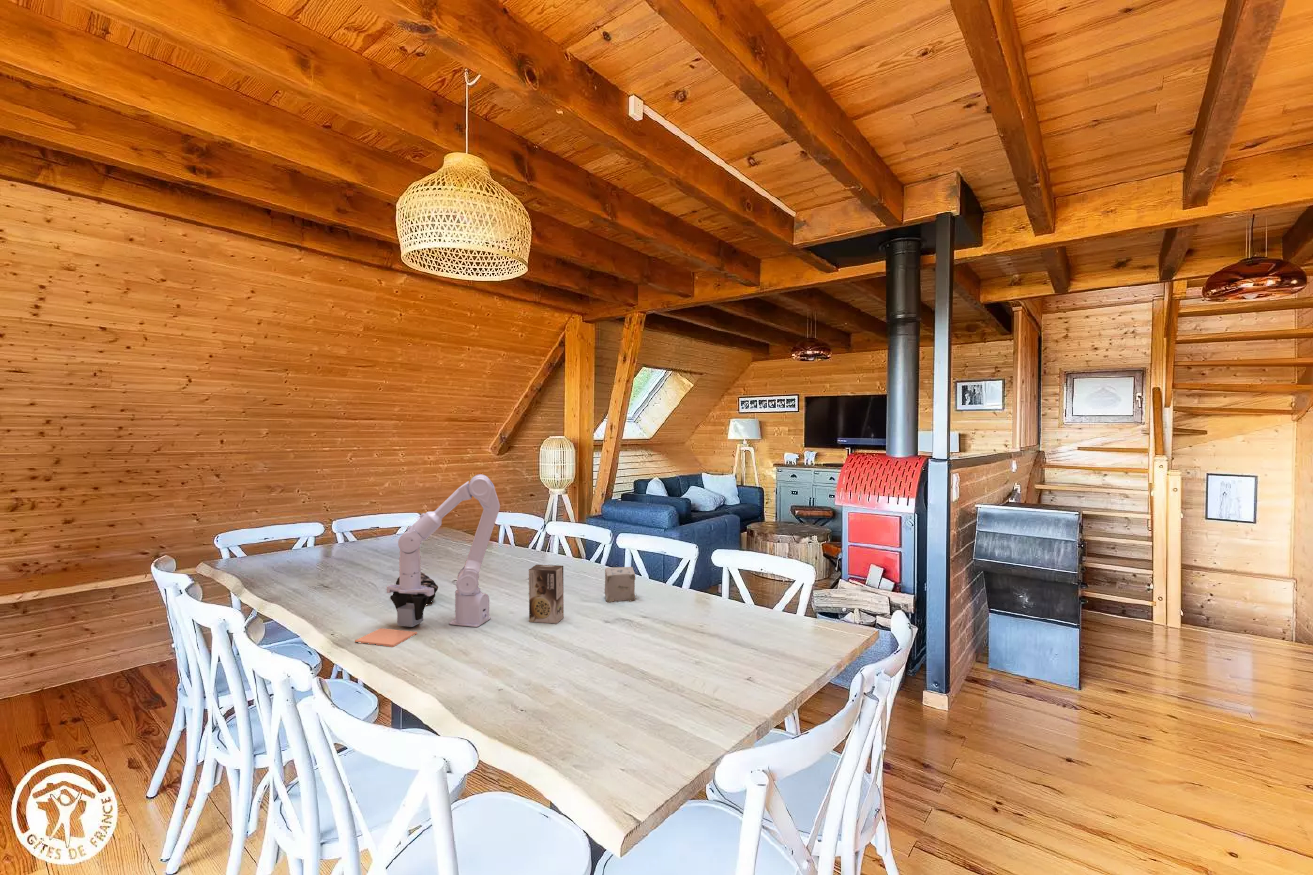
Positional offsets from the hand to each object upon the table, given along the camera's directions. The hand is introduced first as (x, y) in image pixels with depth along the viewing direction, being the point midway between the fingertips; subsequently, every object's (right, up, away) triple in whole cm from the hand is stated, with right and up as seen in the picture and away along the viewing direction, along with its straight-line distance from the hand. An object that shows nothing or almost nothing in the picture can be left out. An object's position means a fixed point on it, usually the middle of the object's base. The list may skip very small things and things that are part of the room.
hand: (410, 618), depth 171 cm
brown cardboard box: (+60, -3, +29) cm, 66 cm away
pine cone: (-8, -2, +26) cm, 27 cm away
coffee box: (+39, -3, +7) cm, 39 cm away
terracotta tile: (-2, -3, -10) cm, 10 cm away
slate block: (0, -2, 0) cm, 2 cm away
